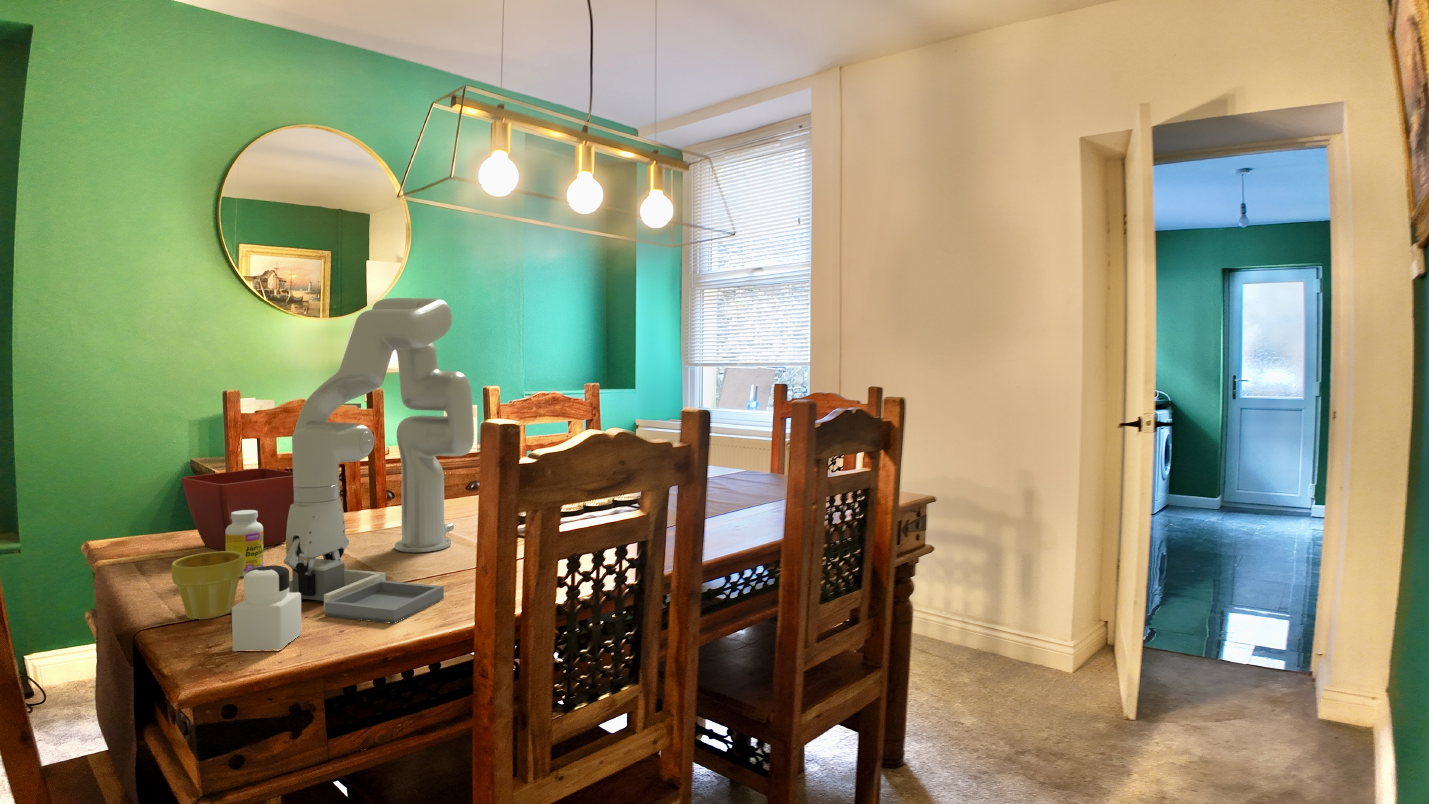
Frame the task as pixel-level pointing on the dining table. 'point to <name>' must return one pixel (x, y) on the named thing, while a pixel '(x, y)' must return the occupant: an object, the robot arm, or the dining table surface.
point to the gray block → (323, 578)
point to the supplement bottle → (246, 538)
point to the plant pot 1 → (240, 502)
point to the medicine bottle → (266, 611)
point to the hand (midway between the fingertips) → (319, 589)
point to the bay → (350, 582)
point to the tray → (384, 601)
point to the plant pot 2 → (208, 582)
